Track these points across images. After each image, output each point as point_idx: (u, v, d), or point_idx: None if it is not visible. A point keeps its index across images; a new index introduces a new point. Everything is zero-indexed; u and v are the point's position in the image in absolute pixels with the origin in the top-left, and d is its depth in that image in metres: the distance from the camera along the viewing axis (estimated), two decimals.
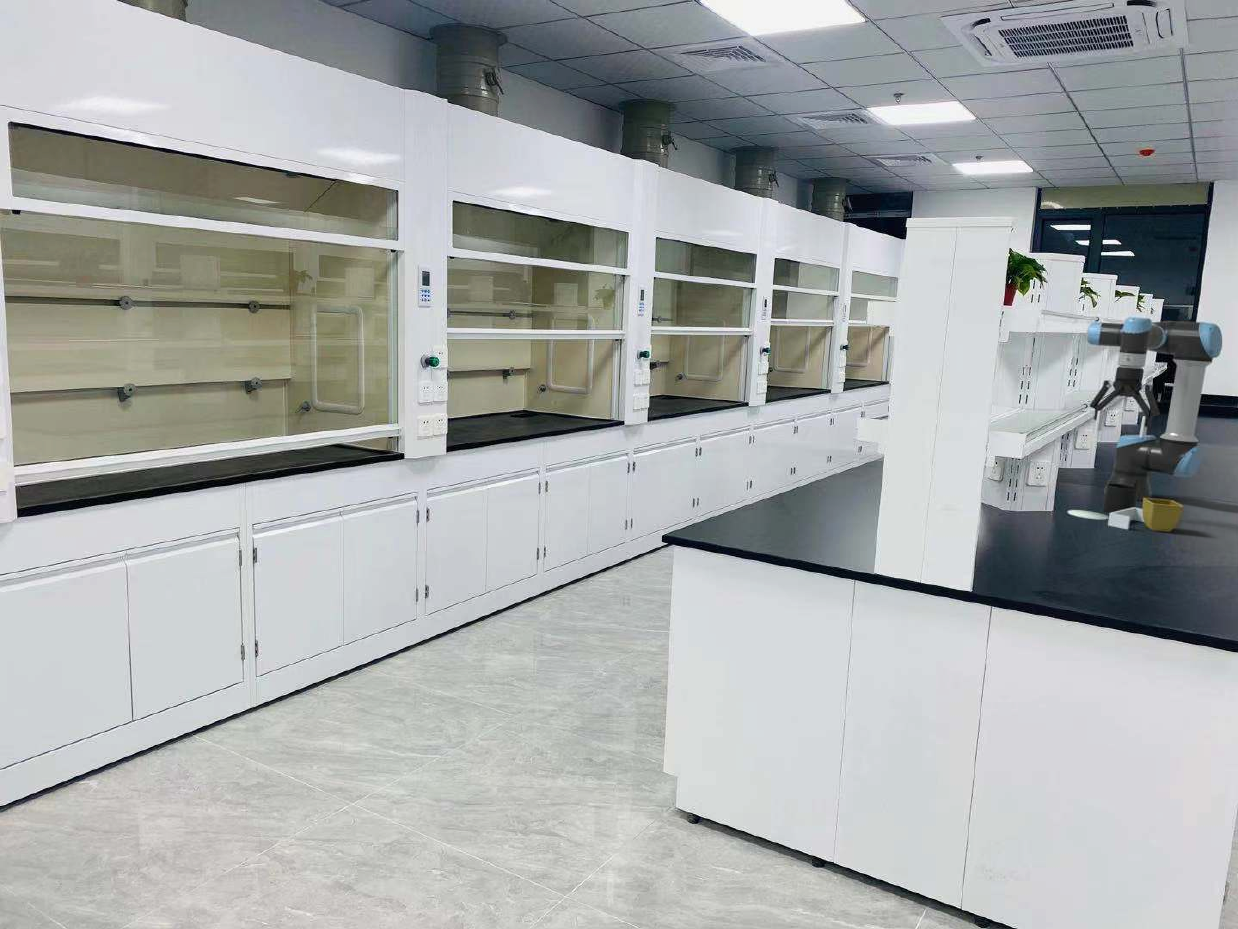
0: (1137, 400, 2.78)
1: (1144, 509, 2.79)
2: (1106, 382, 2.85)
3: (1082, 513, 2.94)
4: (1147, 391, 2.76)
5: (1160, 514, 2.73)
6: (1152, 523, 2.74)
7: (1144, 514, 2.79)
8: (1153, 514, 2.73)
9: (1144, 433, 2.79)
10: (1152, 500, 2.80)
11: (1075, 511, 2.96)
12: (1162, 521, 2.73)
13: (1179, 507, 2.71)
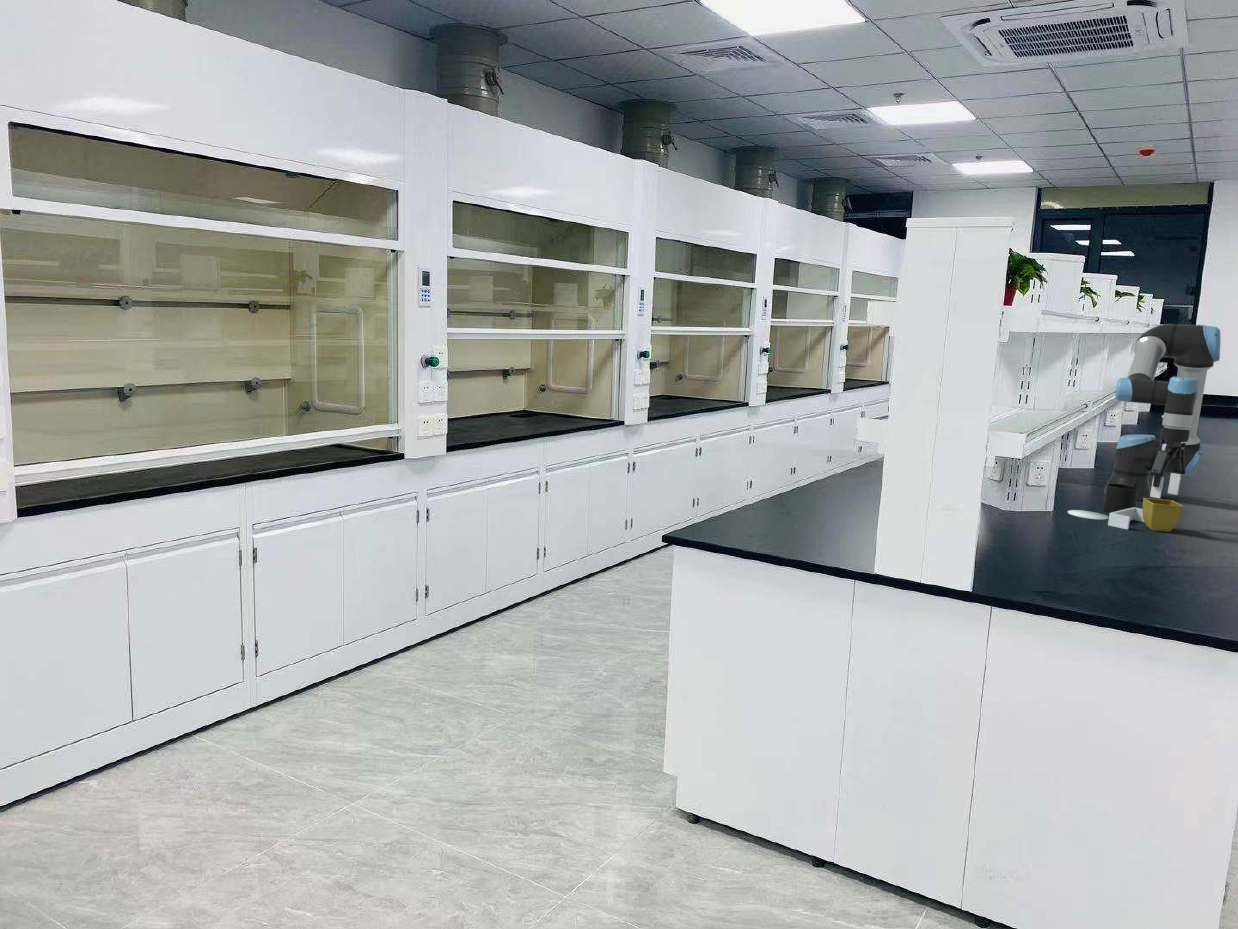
0: None
1: (1144, 509, 2.79)
2: None
3: (1082, 513, 2.94)
4: None
5: (1160, 514, 2.73)
6: (1152, 523, 2.74)
7: (1144, 514, 2.79)
8: (1153, 514, 2.73)
9: (1155, 493, 2.71)
10: (1152, 500, 2.80)
11: (1075, 511, 2.96)
12: (1162, 521, 2.73)
13: (1179, 507, 2.71)
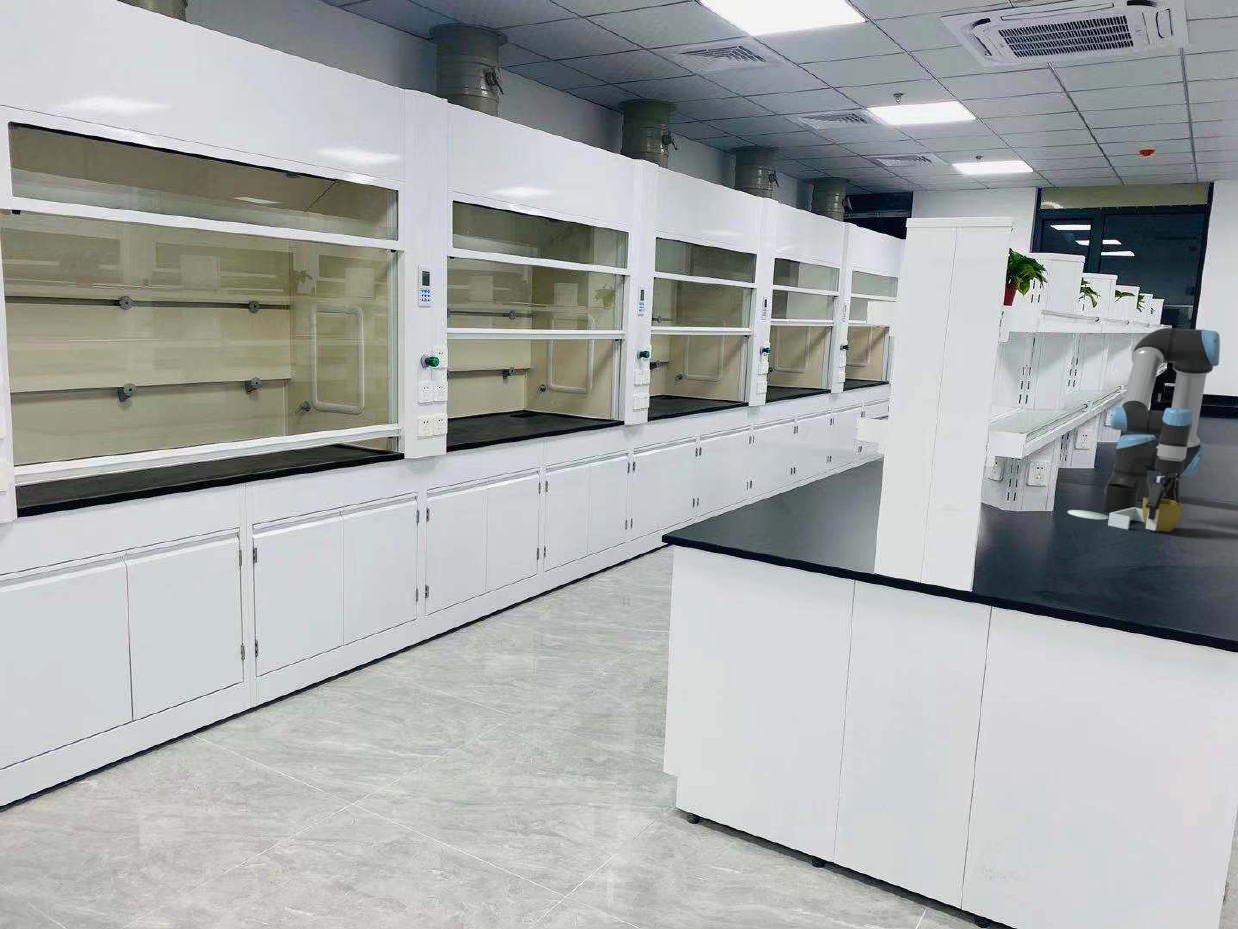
0: None
1: (1144, 509, 2.79)
2: None
3: (1082, 513, 2.94)
4: None
5: (1160, 514, 2.73)
6: None
7: (1144, 514, 2.79)
8: None
9: (1151, 526, 2.73)
10: None
11: (1075, 511, 2.96)
12: (1162, 521, 2.73)
13: (1179, 507, 2.71)
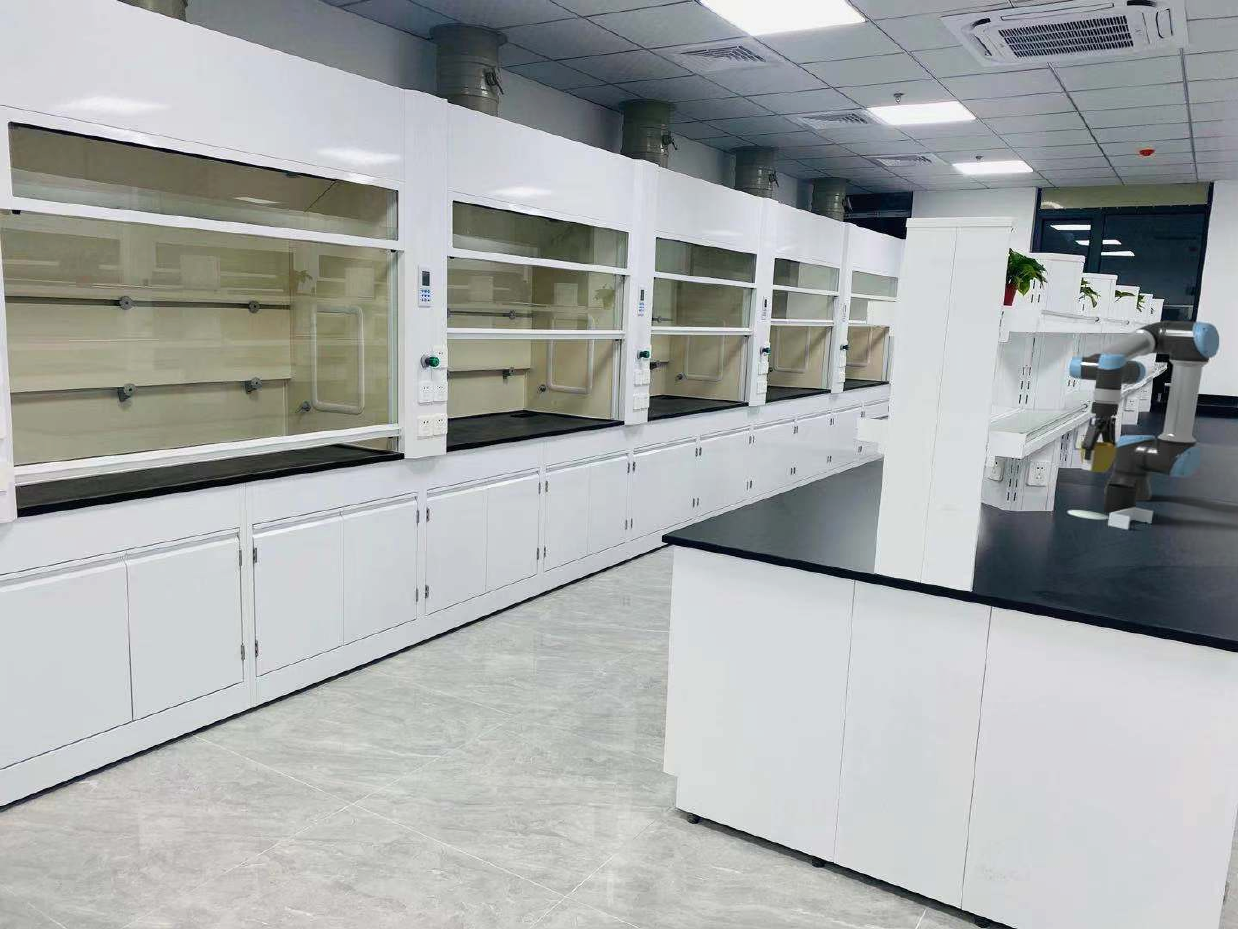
0: None
1: (1082, 451, 2.92)
2: None
3: (1082, 513, 2.94)
4: None
5: (1096, 455, 2.86)
6: None
7: (1082, 456, 2.92)
8: None
9: (1087, 466, 2.86)
10: None
11: (1075, 511, 2.96)
12: (1098, 462, 2.86)
13: (1113, 448, 2.84)
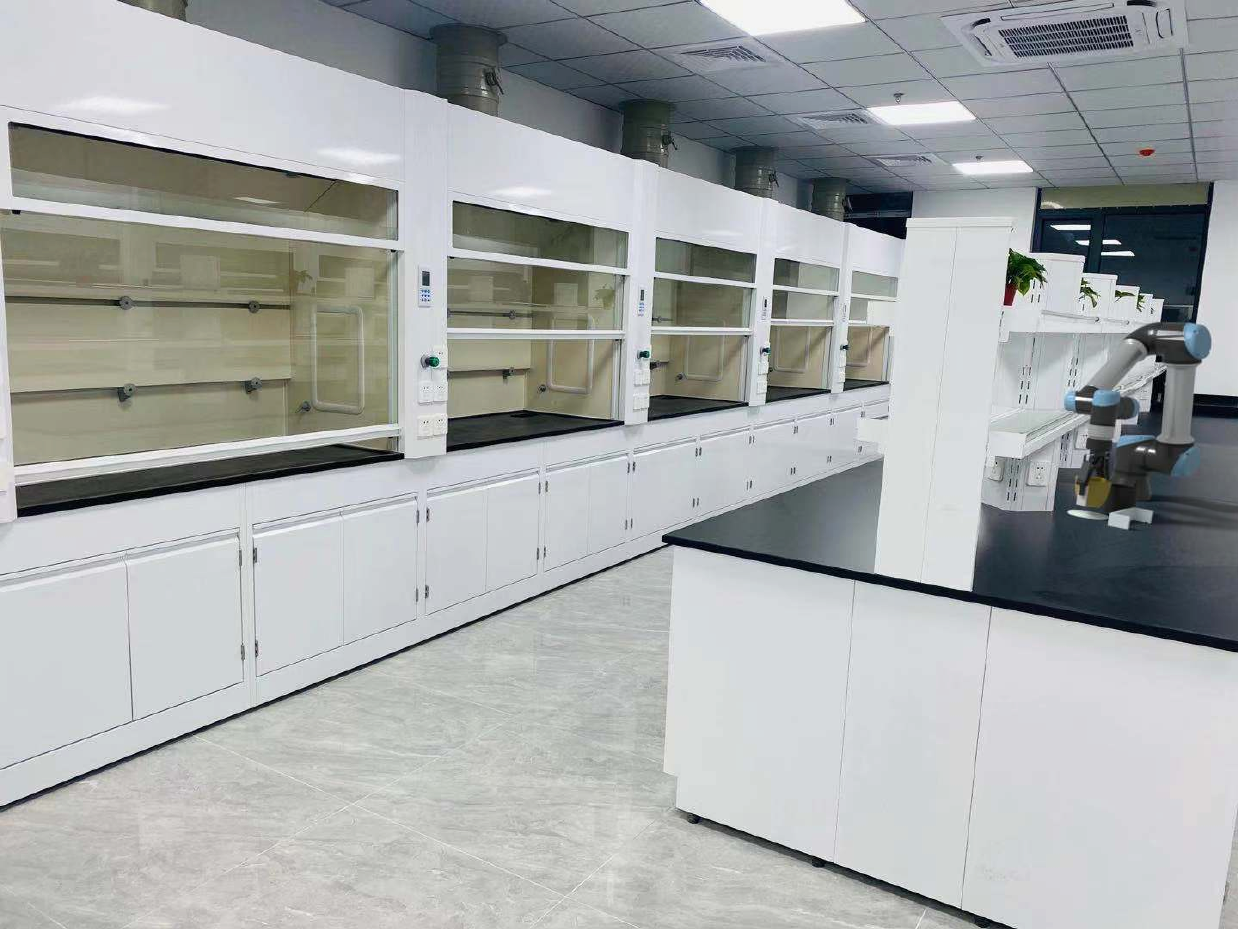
0: None
1: (1076, 486, 2.94)
2: None
3: (1082, 513, 2.94)
4: None
5: (1090, 490, 2.88)
6: None
7: (1076, 491, 2.94)
8: None
9: (1081, 501, 2.88)
10: None
11: (1075, 511, 2.96)
12: (1092, 497, 2.88)
13: (1107, 484, 2.86)
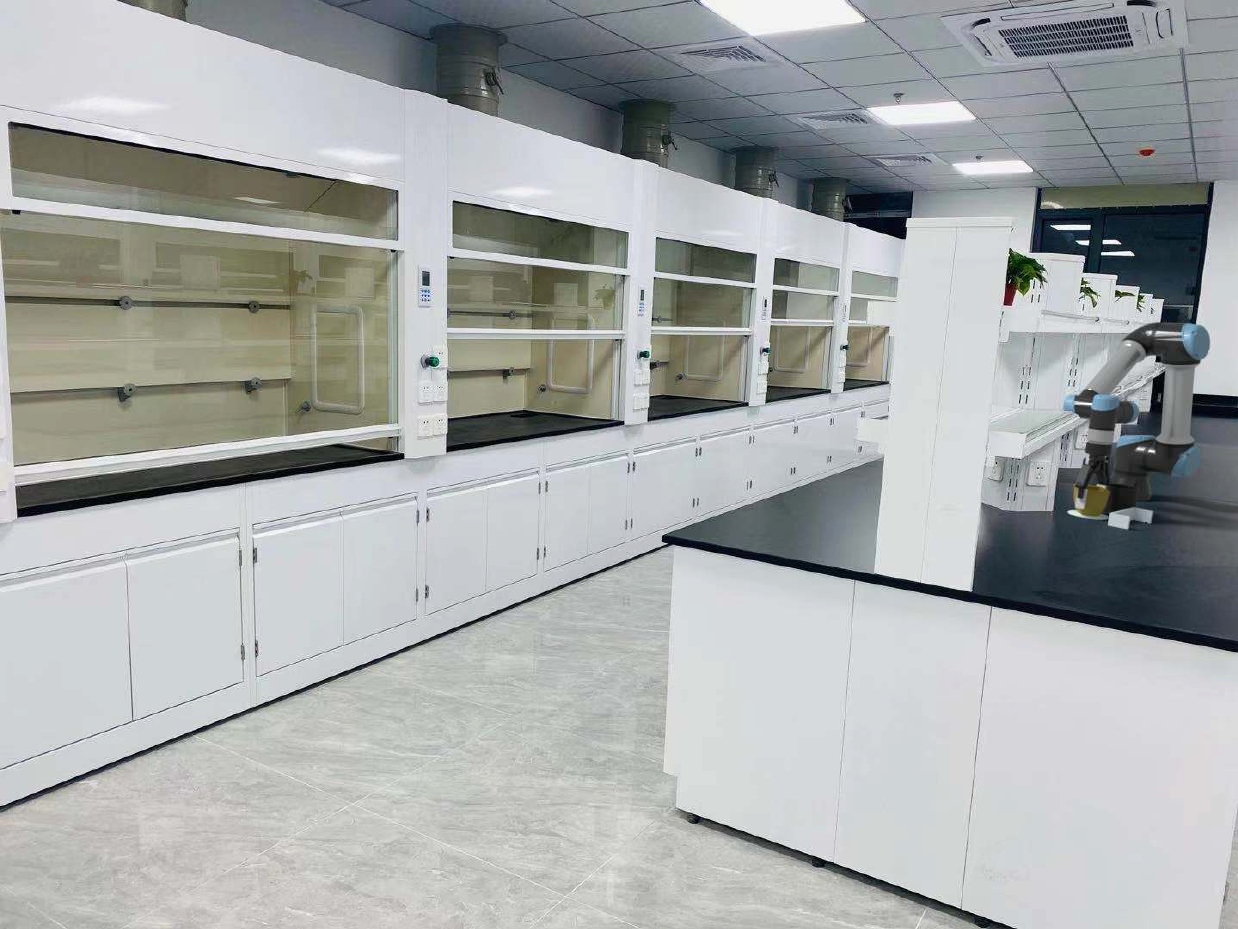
0: None
1: (1075, 495, 2.95)
2: None
3: None
4: None
5: (1088, 499, 2.88)
6: None
7: (1075, 499, 2.95)
8: None
9: (1080, 504, 2.88)
10: None
11: (1075, 511, 2.96)
12: (1090, 506, 2.89)
13: (1106, 492, 2.86)
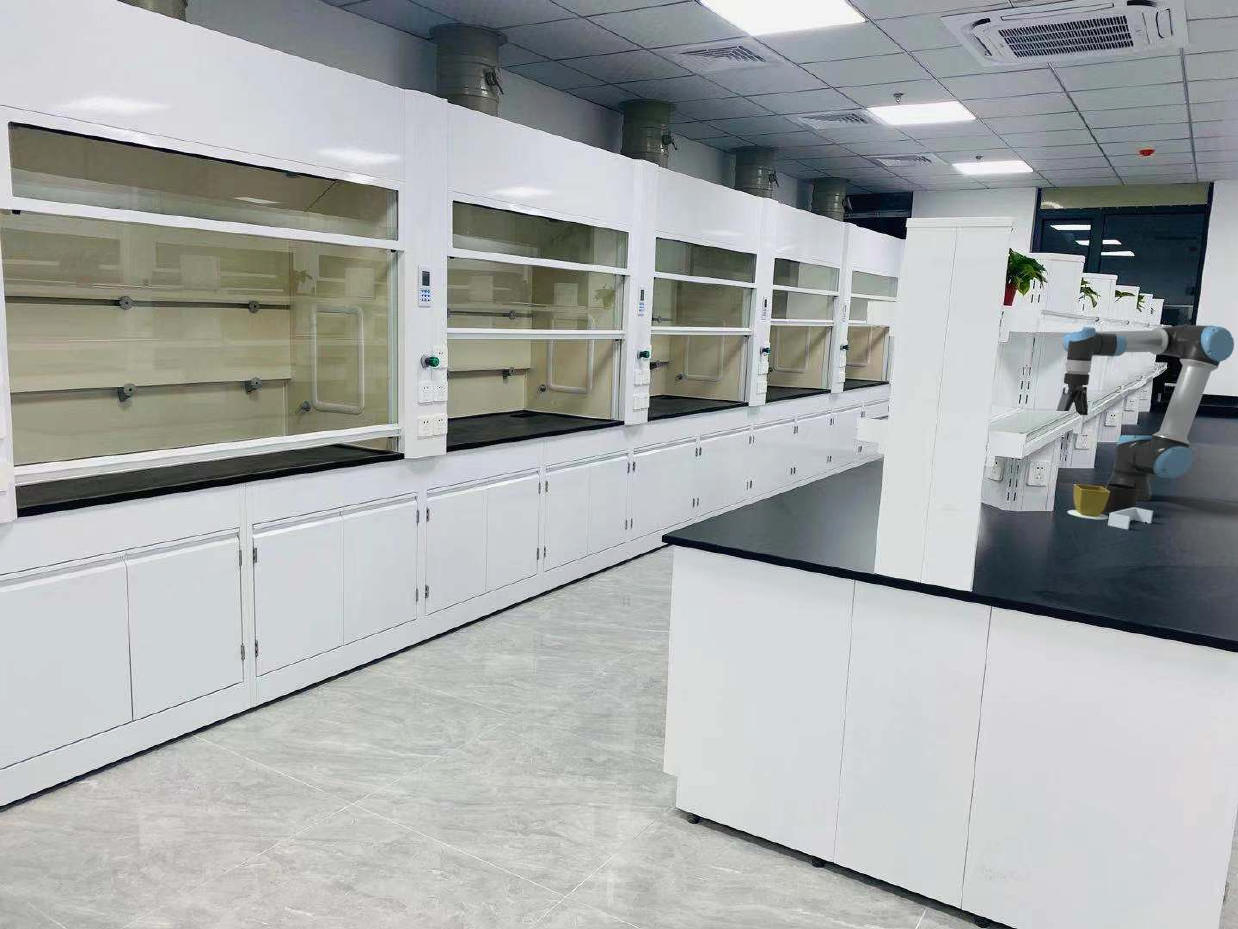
0: None
1: (1075, 495, 2.95)
2: None
3: None
4: None
5: (1088, 499, 2.88)
6: (1081, 508, 2.90)
7: (1075, 499, 2.95)
8: (1082, 499, 2.89)
9: None
10: (1082, 486, 2.95)
11: (1075, 511, 2.96)
12: (1090, 506, 2.89)
13: (1106, 492, 2.86)
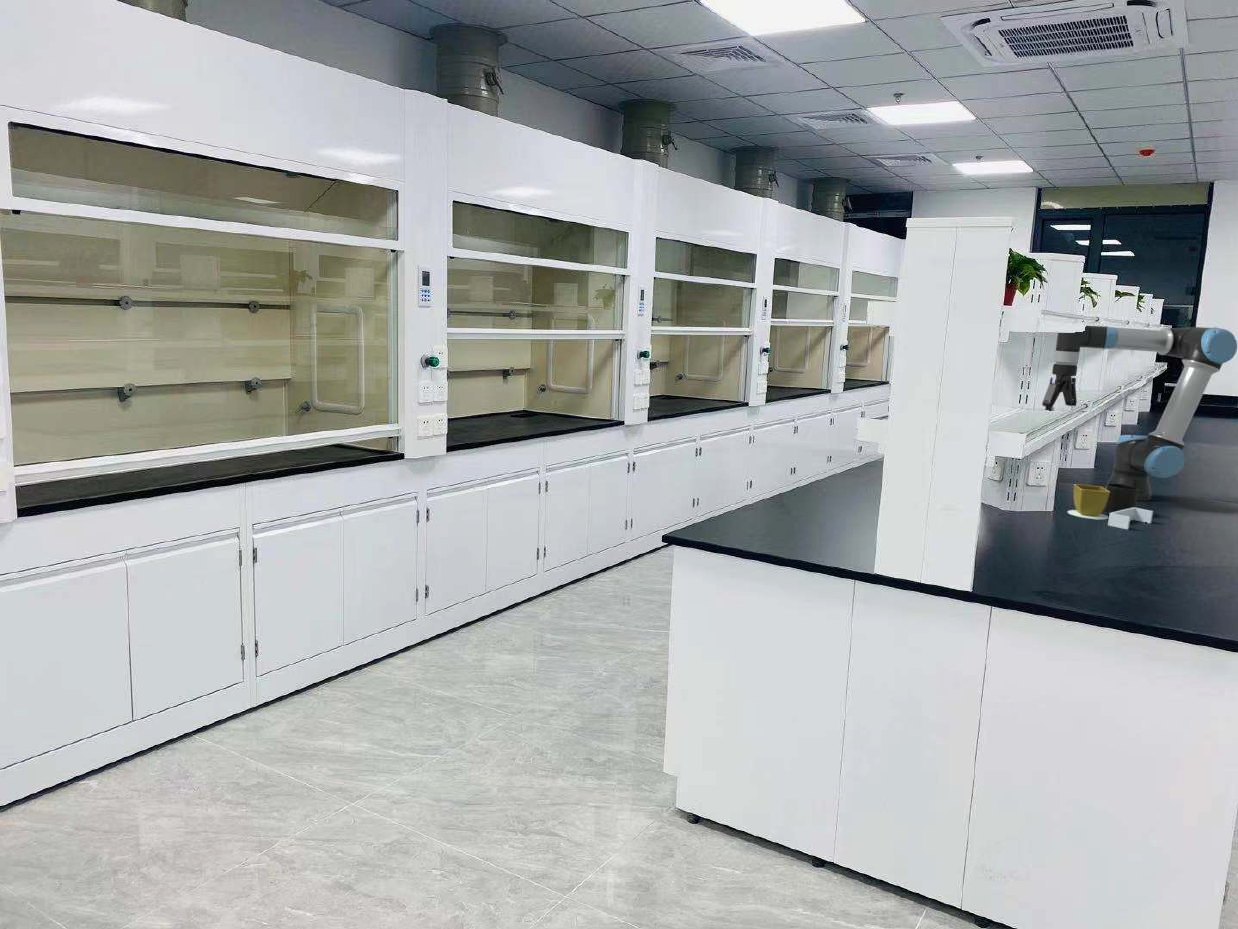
0: None
1: (1075, 495, 2.95)
2: None
3: None
4: None
5: (1088, 499, 2.88)
6: (1081, 508, 2.90)
7: (1075, 499, 2.95)
8: (1082, 499, 2.89)
9: None
10: (1082, 486, 2.95)
11: (1075, 511, 2.96)
12: (1090, 506, 2.89)
13: (1106, 492, 2.86)
